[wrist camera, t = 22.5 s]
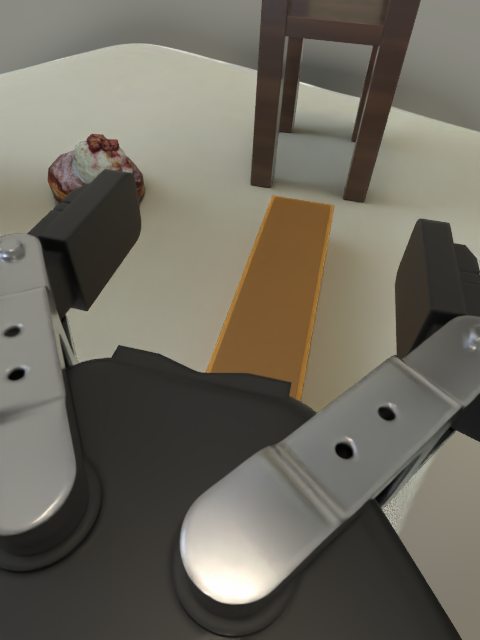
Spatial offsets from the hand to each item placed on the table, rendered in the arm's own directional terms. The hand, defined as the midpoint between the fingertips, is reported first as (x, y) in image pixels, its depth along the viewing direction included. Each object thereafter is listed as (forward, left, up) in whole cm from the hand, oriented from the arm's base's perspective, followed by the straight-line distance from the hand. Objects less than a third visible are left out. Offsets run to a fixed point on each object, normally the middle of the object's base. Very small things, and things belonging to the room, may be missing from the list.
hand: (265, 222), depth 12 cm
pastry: (-24, +8, -12) cm, 28 cm away
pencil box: (-3, +6, -12) cm, 14 cm away
